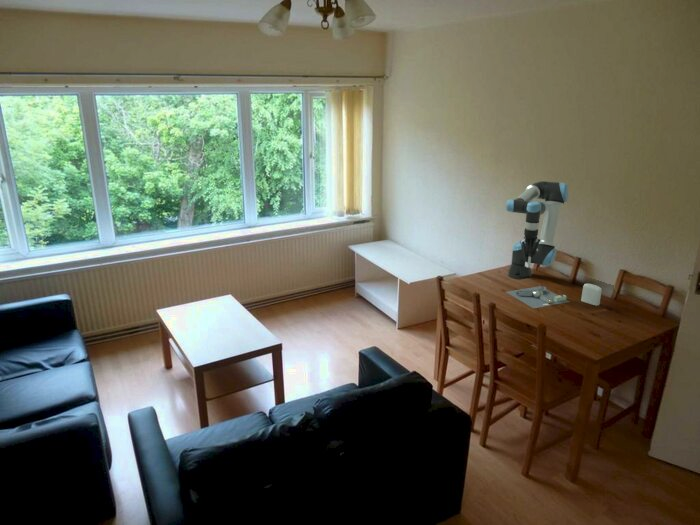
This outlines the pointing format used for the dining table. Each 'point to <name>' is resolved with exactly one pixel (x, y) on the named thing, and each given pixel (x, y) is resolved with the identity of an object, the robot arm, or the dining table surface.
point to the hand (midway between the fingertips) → (527, 266)
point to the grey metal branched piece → (535, 294)
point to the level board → (537, 301)
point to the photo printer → (591, 294)
